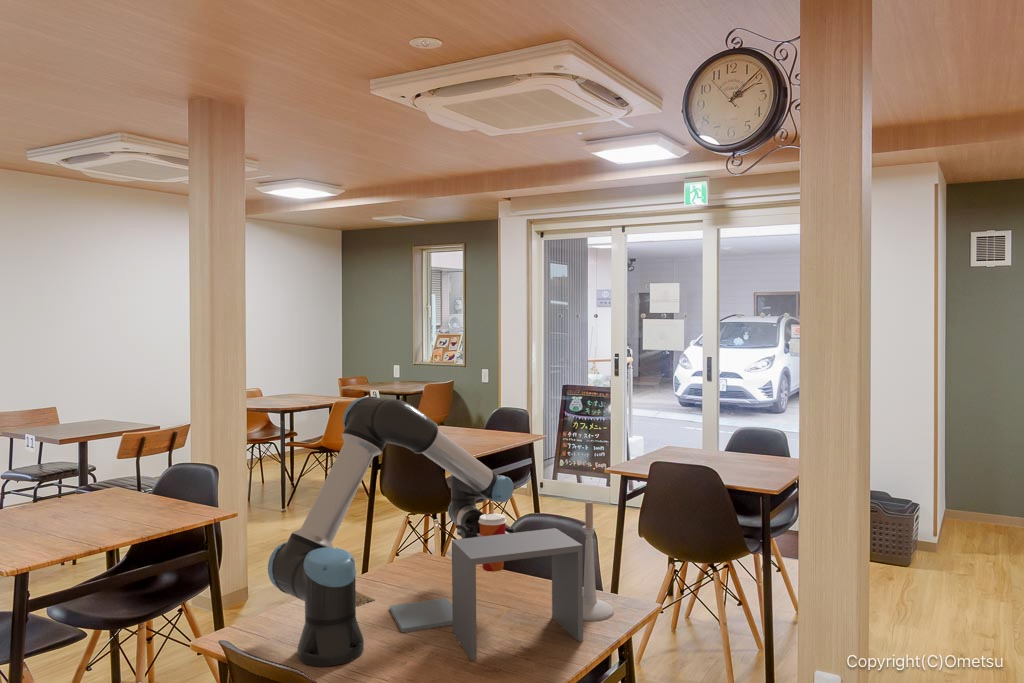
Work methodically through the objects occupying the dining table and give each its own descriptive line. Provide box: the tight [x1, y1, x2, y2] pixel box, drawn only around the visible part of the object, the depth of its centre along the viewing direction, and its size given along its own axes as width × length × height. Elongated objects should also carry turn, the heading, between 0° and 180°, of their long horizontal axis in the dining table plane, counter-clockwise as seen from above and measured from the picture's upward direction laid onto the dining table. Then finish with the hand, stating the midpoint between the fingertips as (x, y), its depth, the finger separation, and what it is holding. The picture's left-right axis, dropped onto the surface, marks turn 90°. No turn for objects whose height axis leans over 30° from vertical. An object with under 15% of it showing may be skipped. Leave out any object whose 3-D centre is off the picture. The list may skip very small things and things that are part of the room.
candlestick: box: [582, 500, 615, 622], centre depth 196 cm, size 13×13×30 cm
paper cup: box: [478, 512, 508, 573], centre depth 196 cm, size 8×8×14 cm
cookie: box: [356, 591, 376, 607], centre depth 206 cm, size 12×12×1 cm
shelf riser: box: [451, 527, 584, 661], centre depth 181 cm, size 28×16×24 cm, turn 110°
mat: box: [389, 597, 453, 633], centre depth 194 cm, size 16×16×1 cm
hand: (499, 543), depth 192 cm, fingers closed on paper cup, 6 cm apart
